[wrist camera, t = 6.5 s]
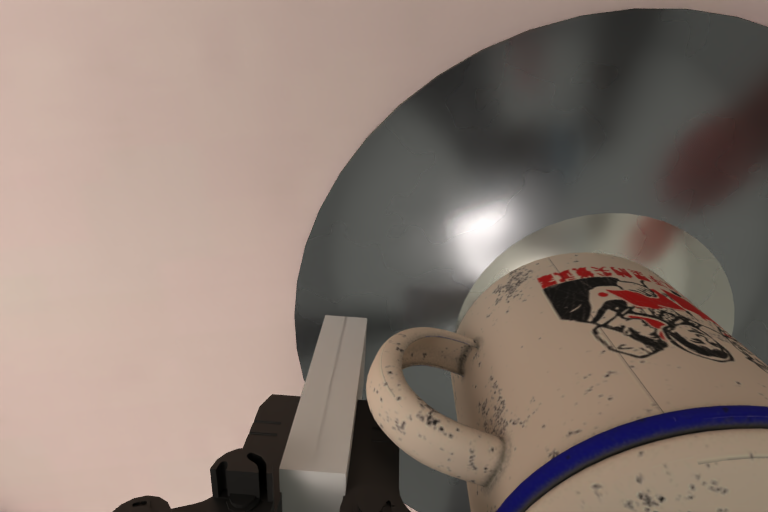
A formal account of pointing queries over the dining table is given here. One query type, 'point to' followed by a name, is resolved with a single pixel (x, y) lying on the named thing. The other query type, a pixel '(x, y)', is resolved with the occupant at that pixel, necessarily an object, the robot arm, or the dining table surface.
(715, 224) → the turntable platter
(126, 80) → the dining table surface
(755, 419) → the teacup with lid
